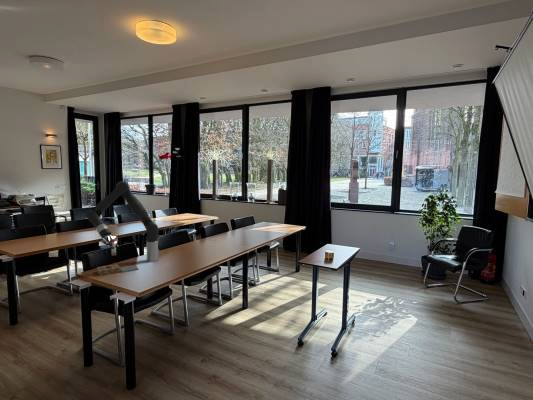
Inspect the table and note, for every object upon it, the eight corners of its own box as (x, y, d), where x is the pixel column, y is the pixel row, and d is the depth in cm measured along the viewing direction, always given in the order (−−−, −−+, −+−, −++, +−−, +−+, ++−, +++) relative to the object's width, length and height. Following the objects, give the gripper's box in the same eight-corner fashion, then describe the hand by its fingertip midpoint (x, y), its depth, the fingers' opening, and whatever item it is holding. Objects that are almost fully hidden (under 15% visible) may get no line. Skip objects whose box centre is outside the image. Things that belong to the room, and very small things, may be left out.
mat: (134, 266, 256) (134, 265, 256) (138, 269, 246) (138, 268, 246) (118, 268, 249) (118, 267, 248) (122, 272, 239) (122, 271, 239)
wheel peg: (116, 254, 244) (115, 238, 242) (117, 255, 240) (116, 239, 239) (110, 254, 241) (109, 239, 240) (111, 256, 238) (110, 240, 237)
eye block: (117, 268, 249) (116, 264, 248) (120, 272, 239) (120, 267, 239) (97, 271, 240) (97, 267, 240) (99, 275, 231) (99, 271, 231)
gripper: (97, 229, 235) (110, 246, 232) (113, 226, 248) (125, 243, 245) (93, 235, 238) (105, 253, 234) (109, 232, 251) (120, 249, 247)
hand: (115, 247), depth 240 cm, fingers closed on wheel peg, 3 cm apart
